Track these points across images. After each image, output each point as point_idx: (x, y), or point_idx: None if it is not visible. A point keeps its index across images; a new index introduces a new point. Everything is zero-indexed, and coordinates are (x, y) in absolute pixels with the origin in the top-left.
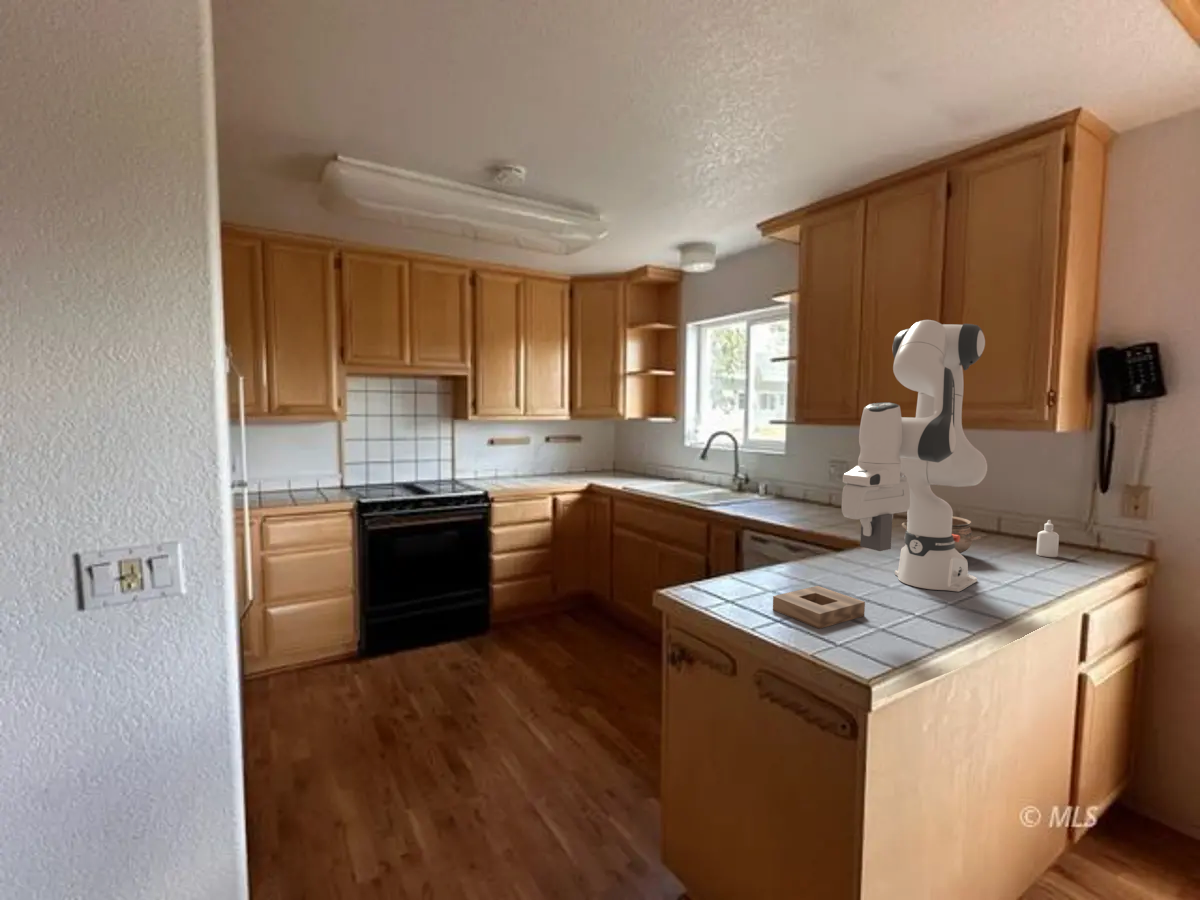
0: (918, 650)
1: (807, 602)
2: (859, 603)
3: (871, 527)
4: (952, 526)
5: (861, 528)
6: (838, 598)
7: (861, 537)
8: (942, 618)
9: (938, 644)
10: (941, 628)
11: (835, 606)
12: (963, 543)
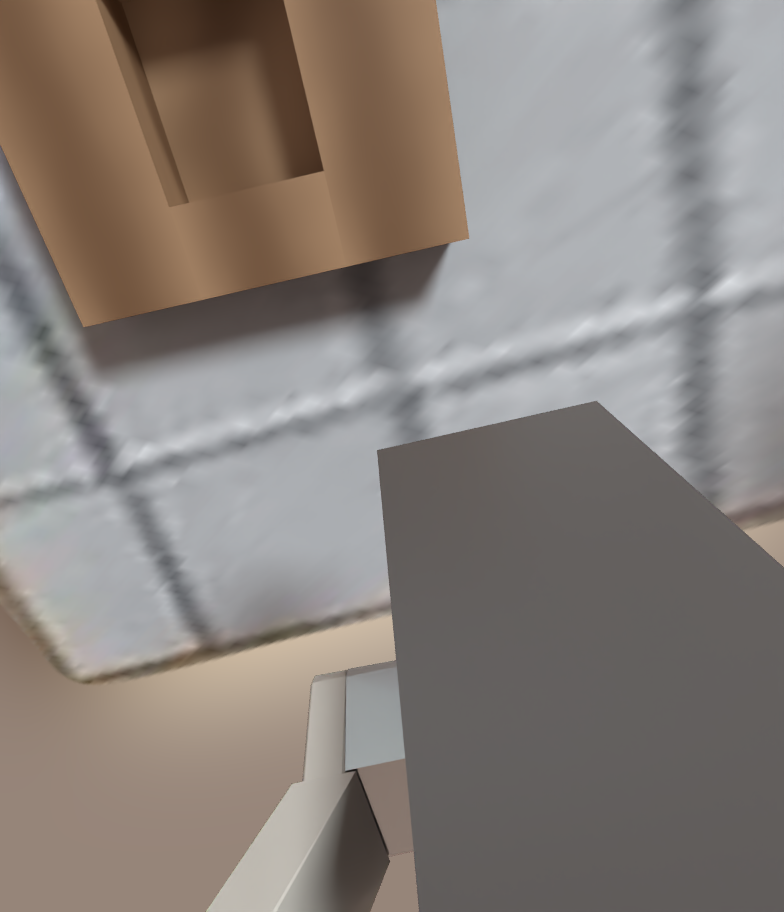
0: (383, 578)
1: (100, 122)
2: (420, 249)
3: (371, 889)
4: None
5: (396, 613)
6: (354, 123)
7: (387, 522)
8: (765, 372)
9: None
10: None
11: (243, 251)
12: None
